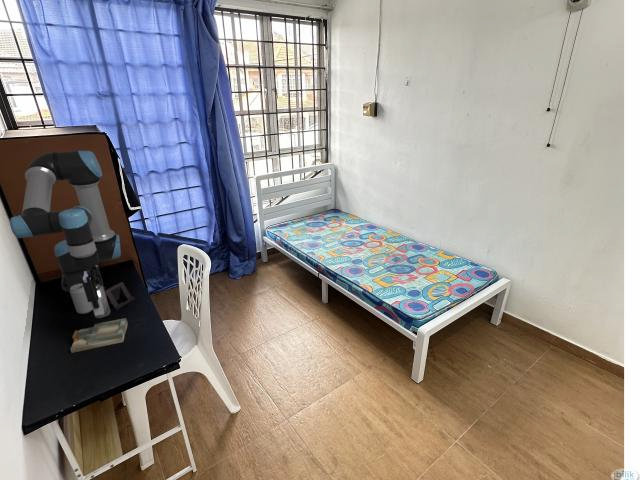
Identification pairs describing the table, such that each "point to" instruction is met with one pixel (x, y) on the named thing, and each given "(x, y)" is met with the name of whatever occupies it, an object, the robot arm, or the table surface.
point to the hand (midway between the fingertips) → (101, 310)
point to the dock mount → (102, 335)
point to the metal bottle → (102, 301)
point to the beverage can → (80, 299)
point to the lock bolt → (80, 335)
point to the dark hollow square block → (115, 293)
